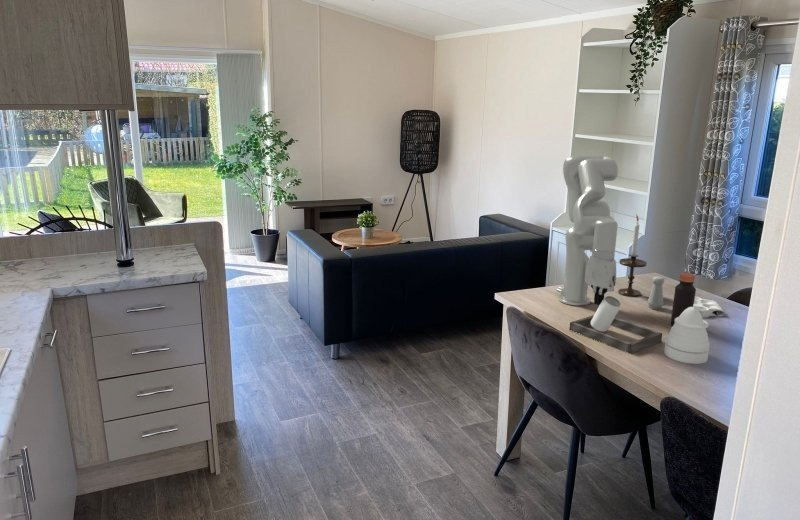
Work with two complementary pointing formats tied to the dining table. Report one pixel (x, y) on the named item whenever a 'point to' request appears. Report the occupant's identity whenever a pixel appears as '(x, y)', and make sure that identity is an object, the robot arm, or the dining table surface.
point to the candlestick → (632, 265)
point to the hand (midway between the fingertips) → (598, 303)
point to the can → (605, 314)
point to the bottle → (683, 295)
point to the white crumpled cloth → (708, 307)
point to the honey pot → (688, 337)
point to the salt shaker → (656, 294)
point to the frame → (650, 339)
